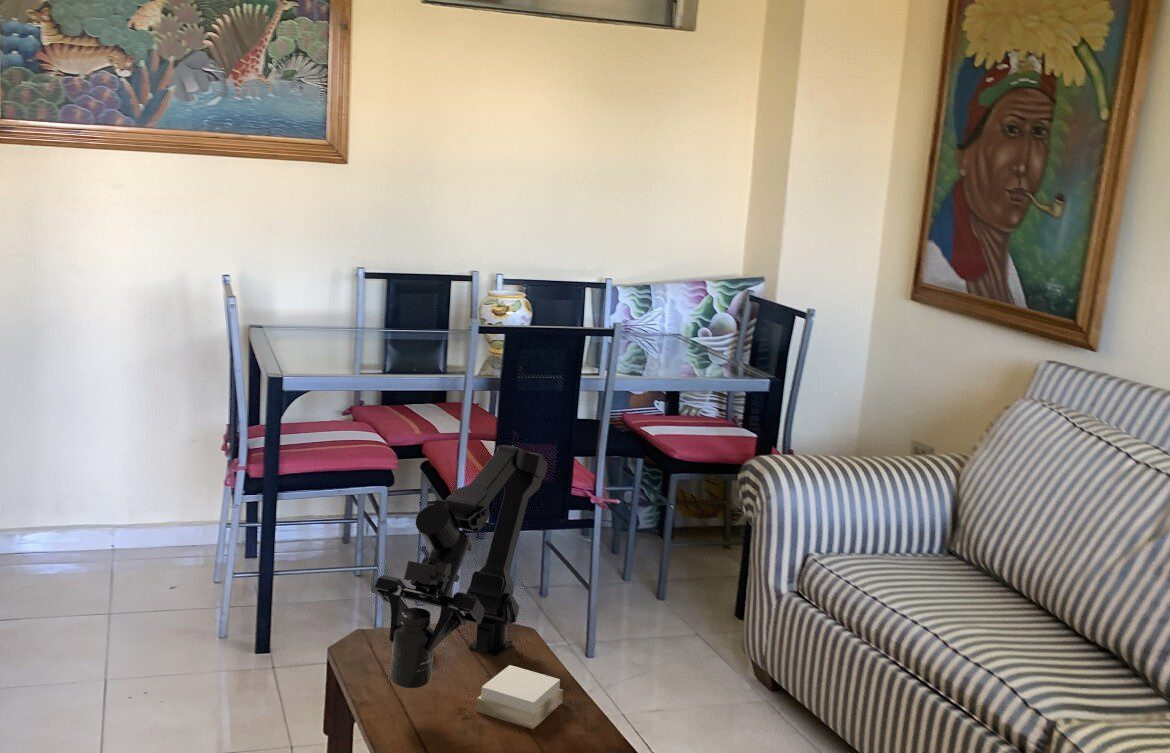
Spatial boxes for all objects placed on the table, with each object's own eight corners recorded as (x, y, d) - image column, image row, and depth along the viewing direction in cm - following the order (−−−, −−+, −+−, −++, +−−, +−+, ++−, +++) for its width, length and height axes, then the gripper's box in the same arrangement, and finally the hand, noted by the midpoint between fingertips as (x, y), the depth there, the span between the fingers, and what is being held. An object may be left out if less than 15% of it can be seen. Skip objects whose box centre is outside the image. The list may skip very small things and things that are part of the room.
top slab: (509, 675, 205) (509, 664, 205) (559, 689, 201) (560, 679, 200) (480, 697, 196) (481, 686, 196) (532, 713, 192) (533, 702, 192)
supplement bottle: (429, 691, 189) (434, 623, 186) (387, 688, 188) (392, 620, 186) (432, 671, 195) (438, 606, 193) (392, 668, 195) (397, 603, 192)
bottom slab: (507, 686, 206) (508, 673, 206) (562, 702, 202) (563, 689, 201) (476, 711, 196) (476, 698, 196) (533, 729, 192) (534, 715, 191)
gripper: (380, 529, 194) (343, 614, 186) (480, 551, 187) (445, 639, 180) (402, 559, 202) (367, 641, 195) (498, 580, 196) (466, 665, 188)
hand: (410, 646), depth 189 cm, fingers closed on supplement bottle, 7 cm apart
